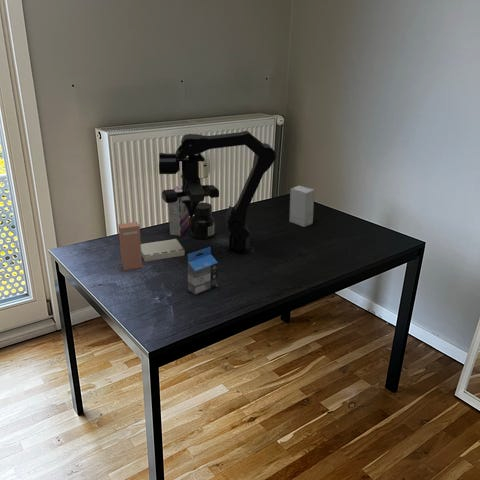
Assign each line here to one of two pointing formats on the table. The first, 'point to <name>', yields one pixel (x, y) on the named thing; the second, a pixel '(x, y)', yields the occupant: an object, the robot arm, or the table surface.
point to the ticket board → (161, 250)
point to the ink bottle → (202, 222)
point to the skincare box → (301, 205)
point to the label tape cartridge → (202, 271)
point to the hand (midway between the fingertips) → (191, 217)
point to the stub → (130, 245)
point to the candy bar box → (178, 216)
